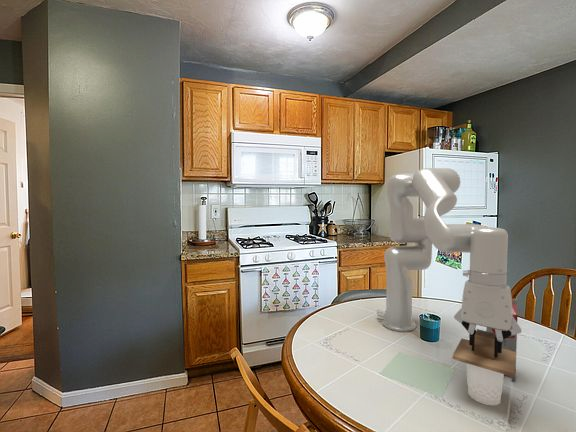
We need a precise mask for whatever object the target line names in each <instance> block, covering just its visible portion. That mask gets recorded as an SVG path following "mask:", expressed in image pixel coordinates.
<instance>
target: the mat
mask: <svg viewBox="0 0 576 432" xmlns="http://www.w3.org/2000/svg"><path fill="white" fill-rule="evenodd" d="M454 372H455V368H453V367H449V366H446V365H443V364H440V363H436V362H434V361H430V360H426V359H423V358H420V357H417V356H414V355H410V354H407V353H405V352H401V351H398V352H397V353H396V354H395V355H394V356H393V358H391V360H390V361H389V362H388V363H387V364H386V365H385V366H384V368H383V369H382V370H381V371H380V372H379V373H378V374H379V375H381V376H384V377H387V378H389V379H391V380H394V381H397V382H399V383H402V384H404V385H407V386H410V387H414V388H416V389H419V390H421V391H424V392H427V393H428V394H432V395H434V396H437V397H440V398H443V395H444V393H445V391H446V389H447V387H448V385H449V382H450V381H451V379H452V377H453V375H454Z"/></svg>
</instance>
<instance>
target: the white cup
mask: <svg viewBox="0 0 576 432" xmlns="http://www.w3.org/2000/svg"><path fill="white" fill-rule="evenodd" d="M504 377H505V376H504V374H502V373H498V372H495V371H491V370H488V369H485V368H481V367H478V366H475V365H471V364H468V363H466V382H467V383H466V384H467V385H466V386H467V393H468V395H469V396H470V398H471V399H473V400H474V401H476V402H478V403H480V404H483V405H488V406H498V405H500V404H501V401H502V394H503V386H504Z"/></svg>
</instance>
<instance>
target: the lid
mask: <svg viewBox="0 0 576 432" xmlns="http://www.w3.org/2000/svg"><path fill="white" fill-rule="evenodd" d="M495 338H496V333H492V332H487V331H486V330H483V329H476V333H475V344H474V351H472V346H471V345H469V339H465V338H463V337H462V338H461V339H460V341H459V342H458V344H457V346H456V348H455V350H454V352H453V354H452V356H451V357H452V358H451V359H452V360H455V361H458V362H462V363H465V364H467V363H468V364H471V365H475V366H478V367H481V368H485V369H488V370H491V371H495V372H498V373H502V374H505V375H508V376H512V377H514V372H515V363H516V364H517V351H516V352H514V351H510V350H506V349H502V352H501V353H498V356H497V357H495V356H494V347H495Z"/></svg>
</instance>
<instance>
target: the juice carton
mask: <svg viewBox="0 0 576 432" xmlns="http://www.w3.org/2000/svg"><path fill="white" fill-rule="evenodd" d="M517 303H518V299H516V298H512V316H513V317H514V319H515V320H516V322H517V323H518V308H517V307H518V306H517ZM485 328H486V330H485V331H487V332H492V333H496V331H495V329H493V328H488V327H485ZM511 328H512V326H511ZM503 331H504V330H503ZM517 337H518V334H515V335H511V336H510V337H508V338H506V339H504V340H503V341H502V349H506V350H510V351H514V352H516V353H517V345H518V343H517V341H518V340H517V339H518V338H517ZM516 368H517V362H516V363H515V372H514V377H512V376H508V375H505V374H504V377H507V378H511V382H513V383H516V373H517V372H516V371H517V369H516Z"/></svg>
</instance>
